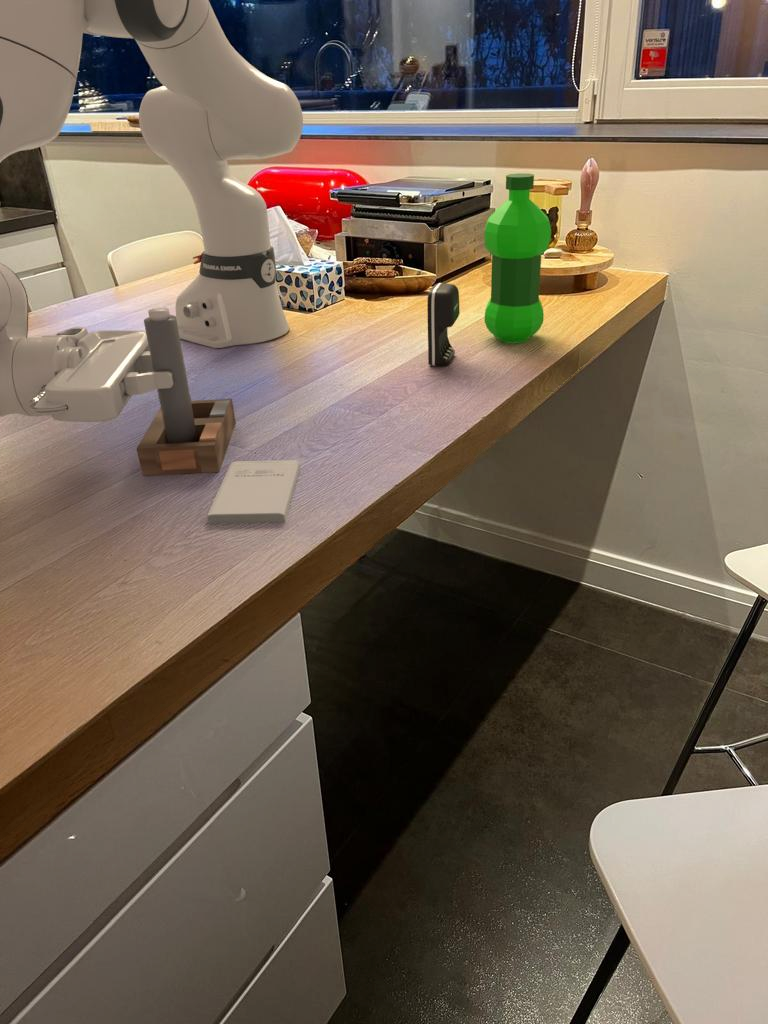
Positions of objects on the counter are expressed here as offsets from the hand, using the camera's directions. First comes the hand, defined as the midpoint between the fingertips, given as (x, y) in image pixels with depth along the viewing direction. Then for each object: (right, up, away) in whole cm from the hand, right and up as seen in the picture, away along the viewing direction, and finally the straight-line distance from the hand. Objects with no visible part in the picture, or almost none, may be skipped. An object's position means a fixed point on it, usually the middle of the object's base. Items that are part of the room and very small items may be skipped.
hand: (177, 370), depth 89 cm
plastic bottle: (+45, +13, +41) cm, 62 cm away
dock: (0, -8, +9) cm, 12 cm away
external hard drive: (+9, -15, -2) cm, 18 cm away
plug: (-1, -8, +4) cm, 9 cm away
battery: (+33, +7, +33) cm, 47 cm away
